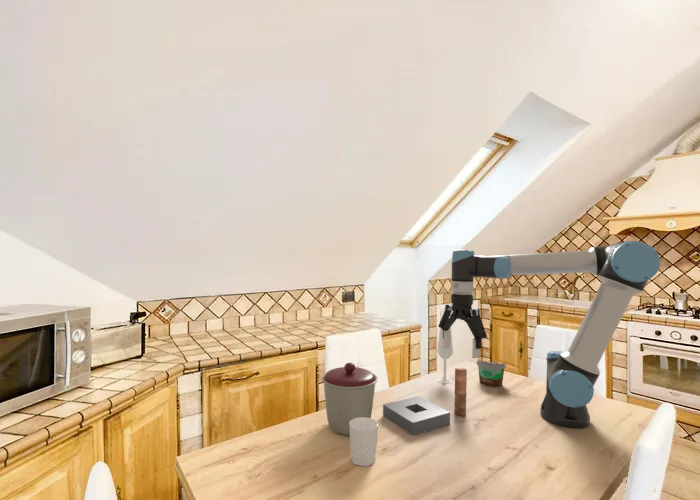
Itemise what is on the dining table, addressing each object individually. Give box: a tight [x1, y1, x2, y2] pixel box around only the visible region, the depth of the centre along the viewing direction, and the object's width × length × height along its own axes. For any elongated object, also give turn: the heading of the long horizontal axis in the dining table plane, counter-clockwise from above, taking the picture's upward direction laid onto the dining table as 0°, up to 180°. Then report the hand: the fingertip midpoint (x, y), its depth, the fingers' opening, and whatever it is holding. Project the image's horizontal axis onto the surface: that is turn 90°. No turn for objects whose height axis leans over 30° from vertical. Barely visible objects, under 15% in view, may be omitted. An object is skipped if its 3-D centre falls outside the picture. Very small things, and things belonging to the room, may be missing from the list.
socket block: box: [382, 395, 451, 436], centre depth 130 cm, size 16×16×4 cm
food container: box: [476, 359, 507, 388], centre depth 166 cm, size 12×6×10 cm, turn 62°
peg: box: [453, 367, 468, 418], centre depth 135 cm, size 4×4×16 cm
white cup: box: [349, 417, 379, 467], centre depth 105 cm, size 8×8×10 cm
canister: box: [321, 362, 379, 436], centre depth 124 cm, size 18×18×21 cm
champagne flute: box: [436, 326, 454, 385], centre depth 170 cm, size 7×7×24 cm
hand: (460, 352), depth 135 cm, fingers open, 13 cm apart
